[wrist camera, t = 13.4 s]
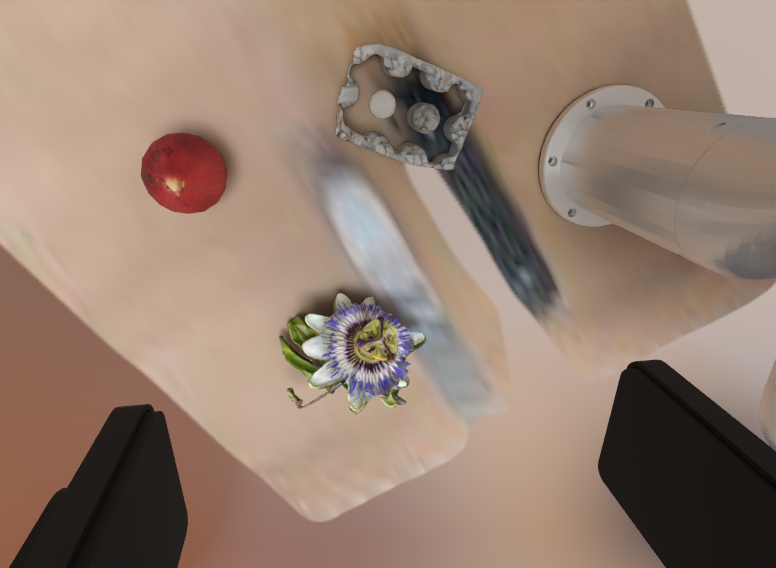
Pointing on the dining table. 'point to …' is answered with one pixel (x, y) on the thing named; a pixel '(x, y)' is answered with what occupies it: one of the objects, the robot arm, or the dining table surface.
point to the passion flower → (353, 352)
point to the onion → (184, 173)
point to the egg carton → (418, 115)
